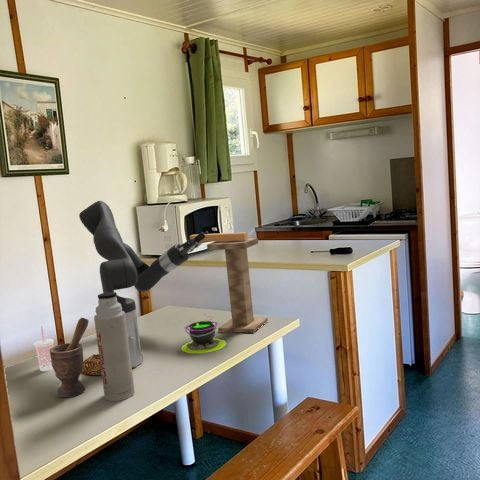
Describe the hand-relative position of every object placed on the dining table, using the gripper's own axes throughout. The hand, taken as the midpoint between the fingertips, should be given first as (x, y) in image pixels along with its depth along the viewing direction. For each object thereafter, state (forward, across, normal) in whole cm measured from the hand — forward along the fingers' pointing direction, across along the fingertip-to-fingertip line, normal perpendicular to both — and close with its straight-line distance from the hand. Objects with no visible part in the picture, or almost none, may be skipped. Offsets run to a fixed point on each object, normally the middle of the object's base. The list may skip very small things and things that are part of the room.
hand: (205, 233), depth 199 cm
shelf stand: (-8, 0, +36) cm, 37 cm away
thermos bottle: (-16, -63, +32) cm, 72 cm away
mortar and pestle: (-30, -63, +24) cm, 73 cm away
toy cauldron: (-13, -22, +34) cm, 42 cm away
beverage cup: (-49, -49, +13) cm, 71 cm away
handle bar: (+3, 0, +5) cm, 6 cm away
